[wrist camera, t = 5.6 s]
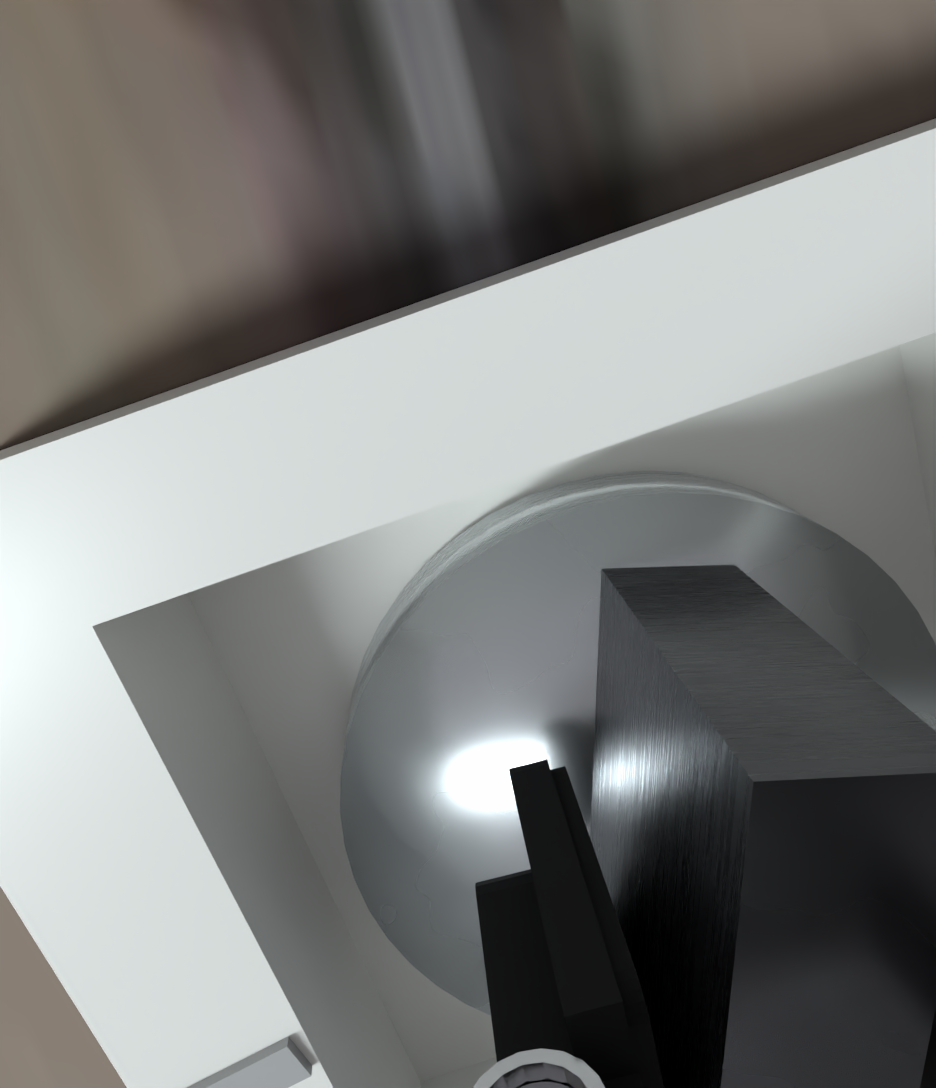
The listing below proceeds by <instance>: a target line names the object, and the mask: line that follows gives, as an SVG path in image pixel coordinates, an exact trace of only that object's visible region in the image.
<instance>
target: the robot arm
mask: <svg viewBox="0 0 936 1088" xmlns="http://www.w3.org/2000/svg"><path fill="white" fill-rule="evenodd" d="M508 770H509V775H510V779H511V784H512V788H513V792H514V797H515V801H516V806H517V810H518V815H519V819H520V824H521V828H522V832H523V837H524V841H525V846H526V850H527V855H528V859H529V863H530V868H531V869H529V870H525V871H521V872H517V873H513V874H509V875H505V876H501V877H497V878H493V879H489V880H485V881H481V882H477V883H475V890H476V900H477V908H478V916H479V924H480V932H481V940H482V948H483V956H484V964H485V972H486V980H487V988H488V996H489V1003H490V1011H491V1019H492V1027H493V1035H494V1043H495V1051H496V1059H497V1063H496V1064H495V1065H494V1066H492V1067H491V1068H490V1069H489V1070H488V1071H487V1072H485V1073H484V1074H483V1075H482V1076H481V1077H480V1078H479V1079H478V1081H477V1082H476V1084H475V1085H474V1087H473V1088H664V1084H663V1079H662V1074H661V1070H660V1065H659V1060H658V1056H657V1051H656V1046H655V1042H654V1037H653V1032H652V1028H651V1023H650V1019H649V1014H648V1010H647V1007H646V1003H645V999H644V995H643V992H642V988H641V985H640V982H639V978H638V975H637V972H636V969H635V966H634V963H633V960H632V958H631V955H630V952H629V949H628V946H627V943H626V940H625V937H624V934H623V932H622V929H621V926H620V923H619V920H618V917H617V914H616V911H615V908H614V905H613V903H612V900H611V897H610V894H609V891H608V888H607V885H606V882H605V879H604V877H603V874H602V871H601V868H600V865H599V862H598V859H597V856H596V853H595V851H594V848H593V845H592V842H591V839H590V836H589V833H588V830H587V827H586V824H585V822H584V819H583V816H582V813H581V810H580V807H579V804H578V801H577V798H576V796H575V793H574V790H573V787H572V784H571V781H570V778H569V775H568V772H567V770H566V767H565V766H563V767H559V768H555V769H551V770H550V767H549V764H548V761H547V759H546V760H542V761H538V762H534V763H530V764H526V765H522V766H518V767H514V768H510V769H508ZM920 1088H936V1009H935V1014H934V1019H933V1024H932V1029H931V1034H930V1039H929V1044H928V1049H927V1054H926V1059H925V1064H924V1069H923V1074H922V1079H921V1084H920Z"/></svg>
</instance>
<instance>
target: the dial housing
mask: <svg viewBox="0 0 936 1088" xmlns="http://www.w3.org/2000/svg"><path fill="white" fill-rule="evenodd" d="M634 471H663V472H684V473H689V474H695V475H700V476H706V477H711V478H717V479H722V480H725V481H728V482H731V483H734V484H737V485H740V486H743V487H746V488H749V489H752V490H755V491H758V492H760V493H762V494H764V495H766V496H768V497H770V498H772V499H774V500H776V501H778V502H780V503H782V504H784V505H786V506H788V507H790V508H792V509H794V510H795V511H797V512H799V513H801V514H803V515H804V516H806V517H808V518H810V519H811V520H813V521H815V522H817V523H819V524H820V525H822V526H824V527H826V528H827V529H829V530H831V531H833V532H835V533H836V534H838V535H839V536H841V537H842V538H843V539H845V540H846V541H848V542H849V543H851V544H852V545H853V546H855V547H856V548H858V549H859V550H861V551H862V552H864V553H865V554H866V555H868V556H869V557H870V558H871V559H872V560H873V561H874V562H875V563H876V564H877V565H878V566H879V567H880V568H882V569H883V570H884V571H885V572H886V573H887V574H888V575H889V576H890V577H891V578H892V579H893V580H894V581H895V582H896V583H897V584H898V586H899V587H900V588H901V590H902V591H903V592H904V594H905V595H906V596H907V598H908V599H909V600H910V601H911V603H912V604H913V605H914V607H915V608H916V609H917V611H918V612H919V614H920V616H921V618H922V620H923V622H924V624H925V625H926V627H927V629H928V631H929V633H930V635H931V637H932V638H933V640H934V642H935V645H936V118H935V119H932V120H930V121H927V122H924V123H921V124H918V125H916V126H913V127H910V128H907V129H904V130H901V131H899V132H896V133H893V134H890V135H887V136H885V137H882V138H879V139H876V140H873V141H870V142H868V143H865V144H862V145H859V146H856V147H854V148H851V149H848V150H845V151H842V152H840V153H837V154H834V155H831V156H828V157H825V158H823V159H820V160H817V161H814V162H811V163H809V164H806V165H803V166H800V167H797V168H794V169H792V170H789V171H786V172H783V173H780V174H778V175H775V176H772V177H769V178H766V179H763V180H761V181H758V182H755V183H752V184H749V185H747V186H744V187H741V188H738V189H735V190H733V191H730V192H727V193H724V194H721V195H718V196H716V197H713V198H710V199H707V200H704V201H702V202H699V203H696V204H693V205H690V206H687V207H685V208H682V209H679V210H676V211H673V212H671V213H668V214H665V215H662V216H659V217H656V218H654V219H651V220H648V221H645V222H642V223H640V224H637V225H634V226H631V227H628V228H626V229H623V230H620V231H617V232H614V233H611V234H609V235H606V236H603V237H600V238H597V239H595V240H592V241H589V242H586V243H583V244H580V245H578V246H575V247H572V248H569V249H566V250H564V251H561V252H558V253H555V254H552V255H549V256H547V257H544V258H541V259H538V260H535V261H533V262H530V263H527V264H524V265H521V266H519V267H516V268H513V269H510V270H507V271H504V272H502V273H499V274H496V275H493V276H490V277H488V278H485V279H482V280H479V281H476V282H473V283H471V284H468V285H465V286H462V287H459V288H457V289H454V290H451V291H448V292H445V293H442V294H440V295H437V296H434V297H431V298H428V299H426V300H423V301H420V302H417V303H414V304H412V305H409V306H406V307H403V308H400V309H397V310H395V311H392V312H389V313H386V314H383V315H381V316H378V317H375V318H372V319H369V320H366V321H364V322H361V323H358V324H355V325H352V326H350V327H347V328H344V329H341V330H338V331H335V332H333V333H330V334H327V335H324V336H321V337H319V338H316V339H313V340H310V341H307V342H305V343H302V344H299V345H296V346H293V347H290V348H288V349H285V350H282V351H279V352H276V353H274V354H271V355H268V356H265V357H262V358H259V359H257V360H254V361H251V362H248V363H245V364H243V365H240V366H237V367H234V368H231V369H228V370H226V371H223V372H220V373H217V374H214V375H212V376H209V377H206V378H203V379H200V380H198V381H195V382H192V383H189V384H186V385H183V386H181V387H178V388H175V389H172V390H169V391H167V392H164V393H161V394H158V395H155V396H152V397H150V398H147V399H144V400H141V401H138V402H136V403H133V404H130V405H127V406H124V407H121V408H119V409H116V410H113V411H110V412H107V413H105V414H102V415H99V416H96V417H93V418H91V419H88V420H85V421H82V422H79V423H76V424H74V425H71V426H68V427H65V428H62V429H60V430H57V431H54V432H51V433H48V434H45V435H43V436H40V437H37V438H34V439H31V440H29V441H26V442H23V443H20V444H17V445H14V446H12V447H9V448H6V449H3V450H0V886H1V888H2V889H3V891H4V892H5V894H6V896H7V897H8V899H9V900H10V902H11V904H12V905H13V907H14V908H15V910H16V912H17V913H18V915H19V916H20V918H21V920H22V921H23V923H24V924H25V926H26V928H27V929H28V931H29V932H30V934H31V935H32V937H33V939H34V940H35V942H36V943H37V945H38V947H39V948H40V950H41V951H42V953H43V955H44V956H45V958H46V959H47V961H48V963H49V964H50V966H51V967H52V969H53V971H54V972H55V974H56V975H57V977H58V978H59V980H60V982H61V983H62V985H63V986H64V988H65V990H66V991H67V993H68V994H69V996H70V998H71V999H72V1001H73V1002H74V1004H75V1006H76V1007H77V1009H78V1010H79V1012H80V1014H81V1015H82V1017H83V1018H84V1020H85V1021H86V1023H87V1025H88V1026H89V1028H90V1029H91V1031H92V1033H93V1034H94V1036H95V1037H96V1039H97V1041H98V1042H99V1044H100V1045H101V1047H102V1049H103V1050H104V1052H105V1053H106V1055H107V1057H108V1058H109V1060H110V1061H111V1063H112V1065H113V1066H114V1068H115V1069H116V1071H117V1072H118V1074H119V1076H120V1077H121V1079H122V1080H123V1082H124V1084H125V1085H126V1087H127V1088H473V1087H474V1085H475V1084H476V1082H477V1081H478V1079H479V1078H480V1077H481V1076H482V1075H483V1074H484V1073H485V1072H487V1071H488V1070H489V1069H490V1068H491V1067H492V1066H494V1065H495V1064H496V1063H497V1059H496V1051H495V1043H494V1035H493V1027H492V1019H491V1016H490V1015H488V1014H486V1013H484V1012H482V1011H480V1010H477V1009H475V1008H473V1007H471V1006H469V1005H467V1004H465V1003H463V1002H462V1001H460V1000H459V999H457V998H455V997H454V996H452V995H451V994H449V993H447V992H446V991H444V990H443V989H441V988H439V987H438V986H436V985H435V984H434V983H433V982H432V981H430V980H429V979H428V978H427V977H426V976H424V975H423V974H422V973H421V972H420V971H418V970H417V969H416V968H415V967H414V966H412V965H411V964H410V963H409V962H408V960H407V959H406V958H405V957H404V956H403V955H402V954H401V953H400V952H399V950H398V949H397V948H396V947H395V946H394V945H393V944H392V943H391V942H390V941H389V939H388V938H387V937H386V935H385V934H384V932H383V931H382V929H381V928H380V926H379V925H378V923H377V922H376V920H375V919H374V917H373V916H372V914H371V913H370V911H369V909H368V907H367V905H366V903H365V901H364V899H363V897H362V895H361V892H360V890H359V888H358V886H357V884H356V882H355V880H354V876H353V873H352V869H351V866H350V863H349V859H348V856H347V853H346V849H345V845H344V838H343V830H342V823H341V816H340V776H341V767H342V759H343V751H344V743H345V735H346V727H347V721H348V715H349V709H350V703H351V697H352V691H353V688H354V685H355V682H356V678H357V675H358V672H359V669H360V666H361V663H362V660H363V657H364V655H365V653H366V651H367V648H368V646H369V644H370V642H371V640H372V638H373V636H374V634H375V632H376V630H377V628H378V626H379V624H380V622H381V621H382V619H383V618H384V616H385V615H386V613H387V612H388V610H389V609H390V607H391V606H392V604H393V603H394V601H395V600H396V598H397V597H398V595H399V594H400V592H401V591H402V590H403V589H404V588H405V587H406V585H407V584H408V583H409V582H410V581H411V580H412V579H413V577H414V576H415V575H416V574H417V573H418V572H419V571H420V570H421V568H422V567H423V566H424V565H425V564H426V563H427V562H428V561H429V560H430V559H431V558H433V557H434V556H435V555H436V554H437V553H438V552H439V551H441V550H442V549H443V548H444V547H445V546H446V545H447V544H449V543H450V542H451V541H452V540H453V539H454V538H455V537H457V536H458V535H460V534H461V533H463V532H464V531H466V530H467V529H469V528H470V527H472V526H473V525H475V524H476V523H478V522H479V521H481V520H482V519H483V518H485V517H486V516H488V515H490V514H492V513H494V512H495V511H497V510H499V509H501V508H503V507H505V506H507V505H509V504H511V503H513V502H515V501H517V500H519V499H521V498H523V497H525V496H528V495H531V494H534V493H536V492H539V491H542V490H545V489H548V488H551V487H553V486H556V485H559V484H562V483H565V482H570V481H574V480H579V479H583V478H588V477H593V476H597V475H602V474H611V473H622V472H634Z"/></svg>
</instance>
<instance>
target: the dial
mask: <svg viewBox="0 0 936 1088" xmlns="http://www.w3.org/2000/svg"><path fill="white" fill-rule="evenodd" d="M546 759H547V761H548V764H549V767H550V770H551V769H555V768H559V767H563V766H565V767H566V770H567V772H568V775H569V778H570V781H571V784H572V787H573V790H574V793H575V796H576V798H577V801H578V804H579V807H580V810H581V813H582V816H583V819H584V822H585V824H586V827H587V830H588V833H589V836H590V839H591V842H592V845H593V848H594V851H595V853H596V856H597V859H598V862H599V865H600V868H601V871H602V874H603V877H604V879H605V882H606V885H607V888H608V891H609V894H610V897H611V900H612V903H613V905H614V908H615V911H616V914H617V917H618V920H619V923H620V926H621V929H622V932H623V934H624V937H625V940H626V943H627V946H628V949H629V952H630V955H631V958H632V960H633V963H634V966H635V969H636V972H637V975H638V978H639V982H640V985H641V988H642V992H643V995H644V999H645V1003H646V1007H647V1010H648V1014H649V1019H650V1023H651V1028H652V1032H653V1037H654V1042H655V1046H656V1051H657V1056H658V1060H659V1065H660V1070H661V1074H662V1079H663V1084H664V1088H920V1084H921V1079H922V1074H923V1069H924V1064H925V1059H926V1054H927V1049H928V1044H929V1039H930V1034H931V1029H932V1024H933V1019H934V1014H935V1009H936V645H935V642H934V640H933V638H932V637H931V635H930V633H929V631H928V629H927V627H926V625H925V624H924V622H923V620H922V618H921V616H920V614H919V612H918V611H917V609H916V608H915V607H914V605H913V604H912V603H911V601H910V600H909V599H908V598H907V596H906V595H905V594H904V592H903V591H902V590H901V588H900V587H899V586H898V584H897V583H896V582H895V581H894V580H893V579H892V578H891V577H890V576H889V575H888V574H887V573H886V572H885V571H884V570H883V569H882V568H880V567H879V566H878V565H877V564H876V563H875V562H874V561H873V560H872V559H871V558H870V557H869V556H868V555H866V554H865V553H864V552H862V551H861V550H859V549H858V548H856V547H855V546H853V545H852V544H851V543H849V542H848V541H846V540H845V539H843V538H842V537H841V536H839V535H838V534H836V533H835V532H833V531H831V530H829V529H827V528H826V527H824V526H822V525H820V524H819V523H817V522H815V521H813V520H811V519H810V518H808V517H806V516H804V515H803V514H801V513H799V512H797V511H795V510H794V509H792V508H790V507H788V506H786V505H784V504H782V503H780V502H778V501H776V500H774V499H772V498H770V497H768V496H766V495H764V494H762V493H760V492H758V491H755V490H752V489H749V488H746V487H743V486H740V485H737V484H734V483H731V482H728V481H725V480H722V479H717V478H711V477H706V476H700V475H695V474H689V473H684V472H663V471H634V472H622V473H611V474H602V475H597V476H593V477H588V478H583V479H579V480H574V481H570V482H565V483H562V484H559V485H556V486H553V487H551V488H548V489H545V490H542V491H539V492H536V493H534V494H531V495H528V496H525V497H523V498H521V499H519V500H517V501H515V502H513V503H511V504H509V505H507V506H505V507H503V508H501V509H499V510H497V511H495V512H494V513H492V514H490V515H488V516H486V517H485V518H483V519H482V520H481V521H479V522H478V523H476V524H475V525H473V526H472V527H470V528H469V529H467V530H466V531H464V532H463V533H461V534H460V535H458V536H457V537H455V538H454V539H453V540H452V541H451V542H450V543H449V544H447V545H446V546H445V547H444V548H443V549H442V550H441V551H439V552H438V553H437V554H436V555H435V556H434V557H433V558H431V559H430V560H429V561H428V562H427V563H426V564H425V565H424V566H423V567H422V568H421V570H420V571H419V572H418V573H417V574H416V575H415V576H414V577H413V579H412V580H411V581H410V582H409V583H408V584H407V585H406V587H405V588H404V589H403V590H402V591H401V592H400V594H399V595H398V597H397V598H396V600H395V601H394V603H393V604H392V606H391V607H390V609H389V610H388V612H387V613H386V615H385V616H384V618H383V619H382V621H381V622H380V624H379V626H378V628H377V630H376V632H375V634H374V636H373V638H372V640H371V642H370V644H369V646H368V648H367V651H366V653H365V655H364V657H363V660H362V663H361V666H360V669H359V672H358V675H357V678H356V682H355V685H354V688H353V691H352V697H351V703H350V709H349V715H348V721H347V727H346V735H345V743H344V751H343V759H342V767H341V776H340V816H341V823H342V830H343V838H344V845H345V849H346V853H347V856H348V859H349V863H350V866H351V869H352V873H353V876H354V880H355V882H356V884H357V886H358V888H359V890H360V892H361V895H362V897H363V899H364V901H365V903H366V905H367V907H368V909H369V911H370V913H371V914H372V916H373V917H374V919H375V920H376V922H377V923H378V925H379V926H380V928H381V929H382V931H383V932H384V934H385V935H386V937H387V938H388V939H389V941H390V942H391V943H392V944H393V945H394V946H395V947H396V948H397V949H398V950H399V952H400V953H401V954H402V955H403V956H404V957H405V958H406V959H407V960H408V962H409V963H410V964H411V965H412V966H414V967H415V968H416V969H417V970H418V971H420V972H421V973H422V974H423V975H424V976H426V977H427V978H428V979H429V980H430V981H432V982H433V983H434V984H435V985H436V986H438V987H439V988H441V989H443V990H444V991H446V992H447V993H449V994H451V995H452V996H454V997H455V998H457V999H459V1000H460V1001H462V1002H463V1003H465V1004H467V1005H469V1006H471V1007H473V1008H475V1009H477V1010H480V1011H482V1012H484V1013H486V1014H488V1015H490V1016H491V1011H490V1003H489V996H488V988H487V980H486V972H485V964H484V956H483V948H482V940H481V932H480V924H479V916H478V908H477V900H476V890H475V883H477V882H481V881H485V880H489V879H493V878H497V877H501V876H505V875H509V874H513V873H517V872H521V871H525V870H529V869H531V868H530V863H529V859H528V855H527V850H526V846H525V841H524V837H523V832H522V828H521V824H520V819H519V815H518V810H517V806H516V801H515V797H514V792H513V788H512V784H511V779H510V775H509V770H508V769H510V768H514V767H518V766H522V765H526V764H530V763H534V762H538V761H542V760H546Z"/></svg>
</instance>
